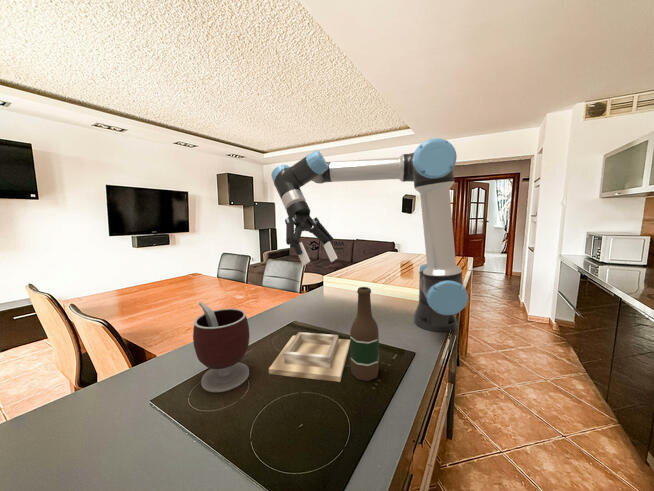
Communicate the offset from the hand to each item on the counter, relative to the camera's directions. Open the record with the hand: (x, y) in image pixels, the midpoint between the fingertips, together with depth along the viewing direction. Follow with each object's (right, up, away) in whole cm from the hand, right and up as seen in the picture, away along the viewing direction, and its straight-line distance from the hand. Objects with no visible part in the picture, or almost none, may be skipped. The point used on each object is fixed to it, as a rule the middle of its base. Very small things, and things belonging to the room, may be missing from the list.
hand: (321, 261), depth 84 cm
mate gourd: (-27, -31, -11) cm, 42 cm away
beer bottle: (+12, -30, -11) cm, 34 cm away
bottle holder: (-2, -29, -3) cm, 29 cm away
